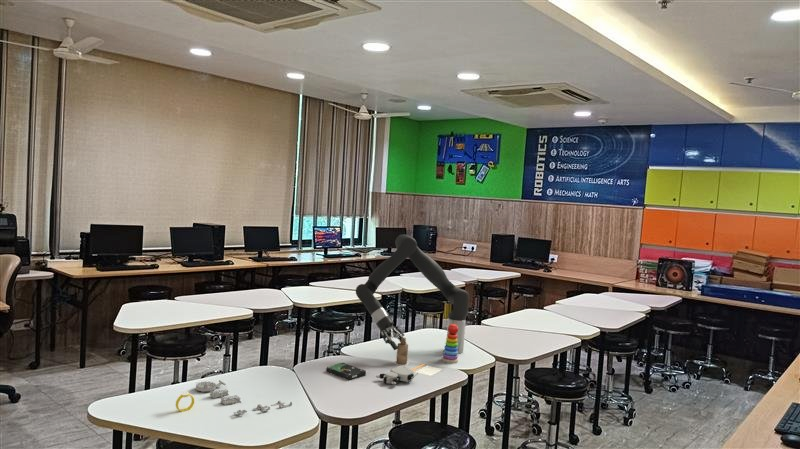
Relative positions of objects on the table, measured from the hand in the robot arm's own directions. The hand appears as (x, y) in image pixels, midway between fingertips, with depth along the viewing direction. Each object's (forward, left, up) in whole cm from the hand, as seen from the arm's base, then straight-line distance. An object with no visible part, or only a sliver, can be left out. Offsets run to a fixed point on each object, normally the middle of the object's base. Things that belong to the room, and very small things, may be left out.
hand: (401, 347), depth 253 cm
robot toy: (+22, +11, -8) cm, 26 cm away
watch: (+97, -30, -8) cm, 102 cm away
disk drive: (+29, -11, -9) cm, 32 cm away
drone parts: (+76, -24, -9) cm, 80 cm away
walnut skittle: (0, +1, -7) cm, 7 cm away
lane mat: (+1, +8, -8) cm, 11 cm away
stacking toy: (-20, +17, -8) cm, 27 cm away
